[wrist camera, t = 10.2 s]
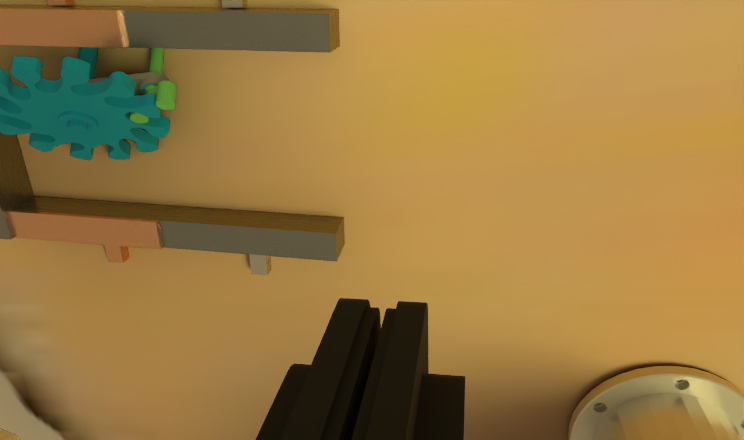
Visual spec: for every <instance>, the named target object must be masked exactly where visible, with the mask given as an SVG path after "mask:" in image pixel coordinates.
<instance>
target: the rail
mask: <svg viewBox="0 0 744 440" xmlns="http://www.w3.org/2000/svg"><path fill="white" fill-rule="evenodd" d="M47 3H48V5H72V4H75V3H74V0H47ZM222 7H247V0H222ZM0 45H22V46H61V47H101V48H125V47H134V48H174V49H214V50H254V51H295V52H332V51H333V50H335V49H336V48H338V47H339V46H340V44H339V9H266V8H192V7H117V6H42V5H0ZM14 237H15V238H28V239H40V240H52V241H65V242H77V243H89V244H101V245H104V246H105V250H106V254H107V258H108V261H110V262H121V263H123V262H125V261H126V260H127V259H128V258H129V254H128V249H127V247H138V248H150V249H162V248H163V247H166V248H178V249H191V250H203V251H215V252H228V253H240V254H249V258H250V267H251V274H260V275H268V274H269V272H270V270H271V262H270V256H277V257H290V258H302V259H314V260H327V261H337V260H338V257H339V255H340V253H341V251H342V248H343V246H344V218H343V217H328V216H314V215H299V214H285V213H270V212H256V211H241V210H227V209H212V208H198V207H183V206H169V205H154V204H140V203H126V202H111V201H97V200H82V199H68V198H53V197H39V196H34V195H33V192H32V188H31V185H30V181H29V178H28V174H27V170H26V167H25V163H24V160H23V156H22V153H21V149H20V146H19V142H18V139H17V135H6V134H2V133H1V132H0V238H1V239H12V238H14Z"/></svg>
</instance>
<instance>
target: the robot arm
mask: <svg viewBox="0 0 744 440" xmlns="http://www.w3.org/2000/svg"><path fill="white" fill-rule="evenodd" d="M464 398H465V376H451V375H438V374H428V306H427V303H420V302H401V301H399V302H398V304H397V307H396V309H390V308H387V309H386V312H385V316H384V320H383V324H382V327H381V325H380V311H379V308H371V307H370V303H369V301H368V300H363V299H344V298H341V299H339V300H338V302H337V305H336V307H335V310H334V312H333V314H332V317H331V319H330V321H329V324H328V326H327V329H326V331H325V333H324V336H323V338H322V340H321V343H320V345H319V348H318V350H317V352H316V355H315V357H314V359H313V362H312V364H311V365H305V364H293V365H292V366H291V367H290V369H289V370H288V372H287V374H286V376H285V378H284V381H283V383H282V385H281V387H280V389H279V391H278V393H277V395H276V397H275V400H274V402H273V404H272V406H271V408H270V410H269V412H268V414H267V417H266V419H265V421H264V423H263V425H262V427H261V429H260V431H259V433H258V436H257V438H256V440H463V436H464ZM568 438H569V440H744V394H743V393H742V392H741V391H740V390H739V389H737V388H736V387H735V386H733V385H732V384H731V383H729V382H728V381H726V380H724V379H722V378H720V377H718V376H716V375H714V374H711V373H708V372H705V371H701V370H698V369H695V368H687V367H680V366H654V367H647V368H640V369H635V370H632V371H629V372H625V373H622V374H619V375H617V376H615V377H613V378H611V379H608V380H606V381H604V382H603V383H601V384H600V385H598V386H597V387H596V388H594V389H593V390H591V391H590V392H589V393H588V394H587V395H586V396H585V397H584V398H583V399H582V400H581V401H580V403H579V404H578V406H577V407H576V409H575V411H574V412H573V415H572V417H571V420H570V423H569V432H568Z"/></svg>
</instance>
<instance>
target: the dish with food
mask: <svg viewBox="0 0 744 440" xmlns="http://www.w3.org/2000/svg"><path fill="white" fill-rule="evenodd" d="M0 440H20V439H19V438H18V437H17V436H16V434H13V433H11V432H8V431H5V430H3V429H0Z"/></svg>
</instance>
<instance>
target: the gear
mask: <svg viewBox="0 0 744 440" xmlns="http://www.w3.org/2000/svg"><path fill="white" fill-rule="evenodd" d="M97 54H98V47H79V54H78V59H76V58H72V57H69V56H67V57H64V58H63V61H62V67H61V73H60V74H61V77H60V78H59V79H58V80H55V81H49V80H45V79H43V78H41V73H42V67H43V63H42V62H41V61H40V60H39V59H38V58H35V57H27V56H14V58H13V62H12V67H11V74H12V75H13V76H14V77H15V78H17V79H18V80H20V81H21V82H22V83H24V84H25V85H26V86H27V87H28V88H24V87H20V86H17V85H15V84H14V83H13V82H12V81H11V77H10V75H9V73H7V72H6V71H5V70H3V69H0V132H1V133H2V134H6V135H16V134H20V133H31V134H30V140H29V144H30V145H31V146H33V147H34V148H37V149H39V150H41V151H51V150H52V149H53V148H54V147H55V146H57V145H60V144H64V143H71V150H70V156H73V157H76V158H80V159H85V160H90V159H92V155H93V148H94V147H95V146H97V145H99V144H106V145H109V151H108V156H109V157H110V158H111V159H129V158H130V148H131V146H130V144H128V143H127V142H125V141H124V140H123V139H130V140H133V141H135V142H136V148H137V149H138V150H139V151H141V152H150V151H154V150H156V149H158V141H159V138H163V137H165V136H166V135H167V134H168V132H169V127H170V119H169V118H167V117H164V116H161V109H163V110H172V109H174V108H175V102H176V89H177V87H176V85H175V84H174V83H173V82H171V81H169V79H168V78H167V77H166V76H164V75H162V70H163V58H164V48H151V57H150V68H149V72H145V73H137V74H129V75H127V74H125V73H123V72H122V71H117V72H113V73H112V74H111V75H110V76H109V77H105V78H97V79H94V75H95V68H96V61H97ZM141 128H143V129H145V130H146V131H145V130H143V129H141Z"/></svg>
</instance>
